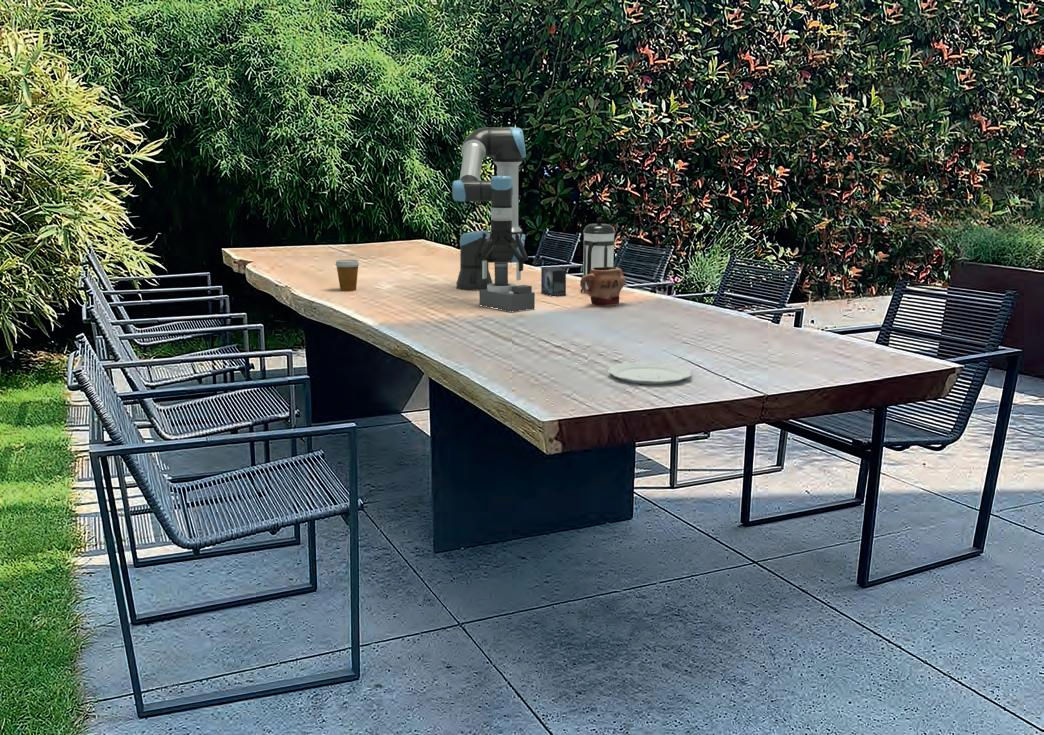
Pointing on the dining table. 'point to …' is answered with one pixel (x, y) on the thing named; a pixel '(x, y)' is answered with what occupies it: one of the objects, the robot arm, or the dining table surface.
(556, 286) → the small box
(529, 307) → the camera body
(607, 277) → the brown clay mug
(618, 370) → the plate
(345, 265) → the disposable coffee cup
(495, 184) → the robot arm
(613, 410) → the dining table surface
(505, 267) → the lens
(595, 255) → the coffee press
